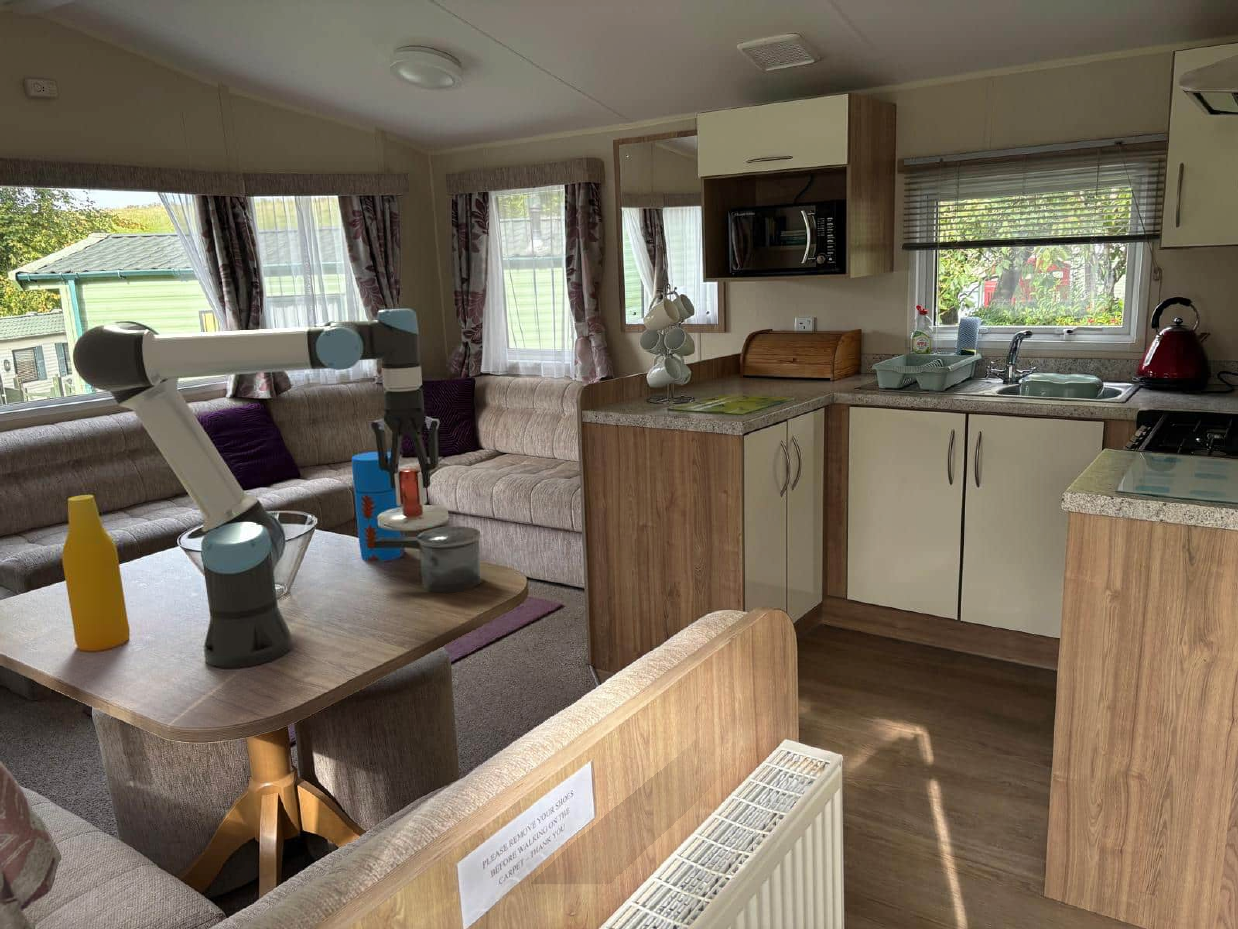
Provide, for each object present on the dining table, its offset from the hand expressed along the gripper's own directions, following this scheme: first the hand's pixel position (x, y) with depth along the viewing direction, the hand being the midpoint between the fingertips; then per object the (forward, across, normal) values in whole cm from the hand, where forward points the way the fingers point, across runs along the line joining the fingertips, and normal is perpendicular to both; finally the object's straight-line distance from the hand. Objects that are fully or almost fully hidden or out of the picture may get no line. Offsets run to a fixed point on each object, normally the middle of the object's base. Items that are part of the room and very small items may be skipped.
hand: (412, 503), depth 187 cm
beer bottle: (+23, +58, +16) cm, 64 cm away
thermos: (+23, +19, -37) cm, 47 cm away
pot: (+23, +2, -16) cm, 28 cm away
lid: (+4, 0, 0) cm, 4 cm away
